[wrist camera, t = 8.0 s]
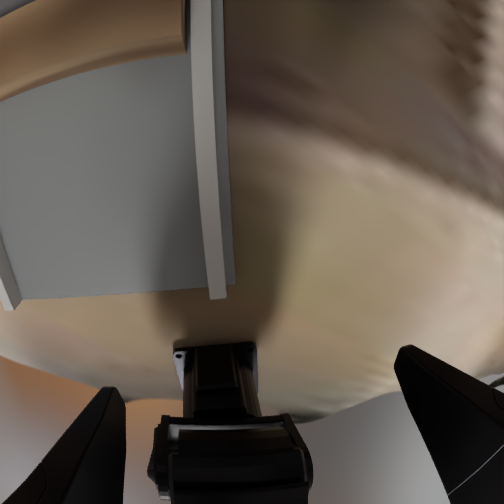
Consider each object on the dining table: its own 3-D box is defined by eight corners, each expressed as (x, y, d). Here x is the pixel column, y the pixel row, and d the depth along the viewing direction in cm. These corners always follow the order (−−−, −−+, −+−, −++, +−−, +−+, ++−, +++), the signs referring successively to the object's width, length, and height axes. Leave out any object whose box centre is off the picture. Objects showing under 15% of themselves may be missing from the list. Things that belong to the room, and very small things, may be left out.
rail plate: (234, 276, 20) (241, 311, 17) (13, 293, 18) (-10, 322, 15) (220, -38, 11) (226, -70, 8) (-22, 33, 9) (-54, 27, 6)
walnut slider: (186, 54, 13) (180, 34, 10) (-17, 109, 11) (-56, 114, 8) (186, -7, 11) (181, -38, 8) (-16, 55, 10) (-52, 51, 6)
